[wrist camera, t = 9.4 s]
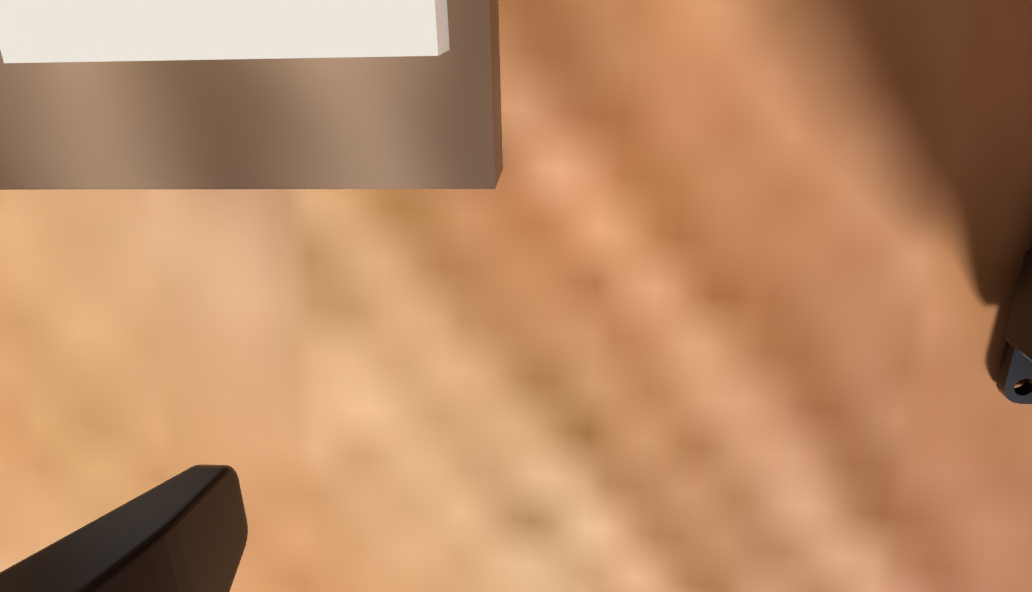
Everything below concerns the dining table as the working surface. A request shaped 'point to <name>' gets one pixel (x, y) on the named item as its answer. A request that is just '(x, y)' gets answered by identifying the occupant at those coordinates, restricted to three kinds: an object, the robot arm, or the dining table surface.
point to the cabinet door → (219, 29)
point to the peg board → (262, 119)
